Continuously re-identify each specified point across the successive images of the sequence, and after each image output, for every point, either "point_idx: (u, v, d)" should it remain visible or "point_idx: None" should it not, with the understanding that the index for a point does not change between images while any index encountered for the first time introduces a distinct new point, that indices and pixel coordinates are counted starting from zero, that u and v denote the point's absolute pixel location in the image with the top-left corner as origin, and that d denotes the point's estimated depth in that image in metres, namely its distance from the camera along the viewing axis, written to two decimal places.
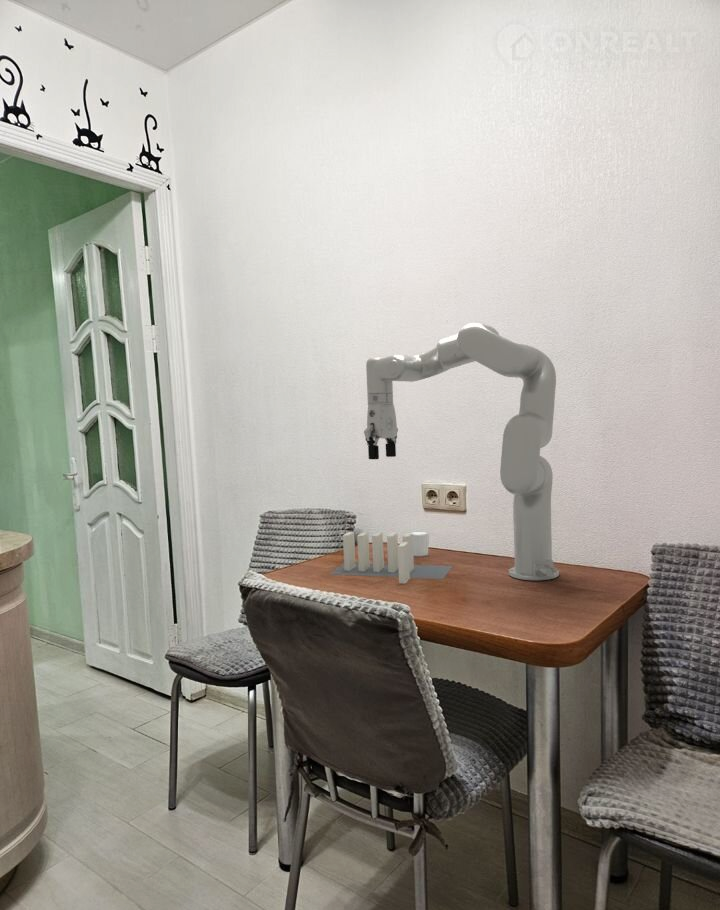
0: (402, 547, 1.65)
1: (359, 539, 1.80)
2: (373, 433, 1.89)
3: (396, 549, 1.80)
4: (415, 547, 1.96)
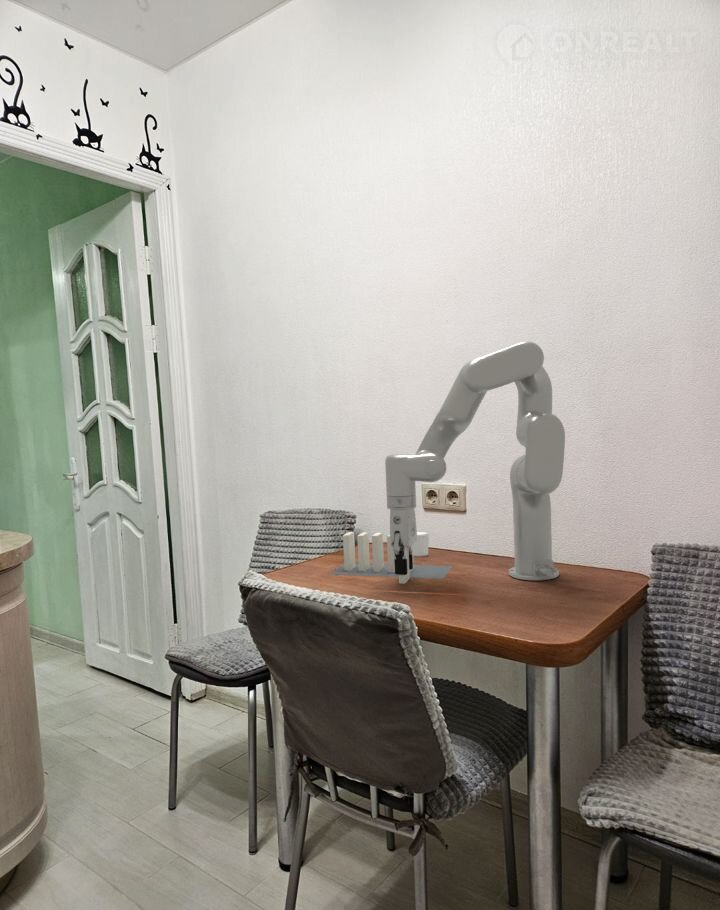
0: None
1: (359, 539, 1.80)
2: None
3: None
4: (415, 547, 1.96)
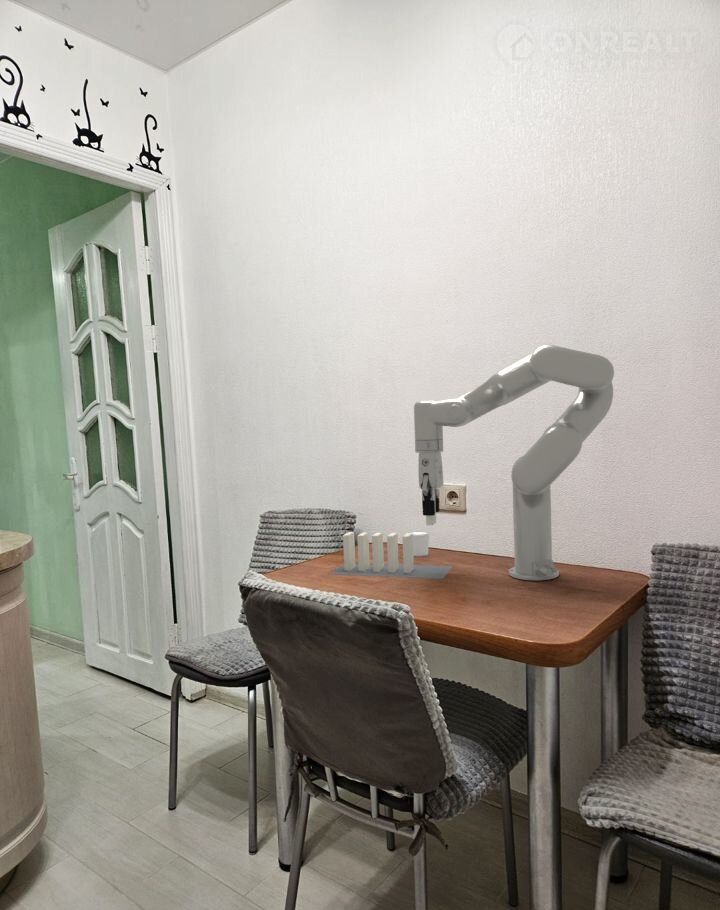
0: None
1: (359, 539, 1.80)
2: None
3: (396, 549, 1.80)
4: (415, 547, 1.96)
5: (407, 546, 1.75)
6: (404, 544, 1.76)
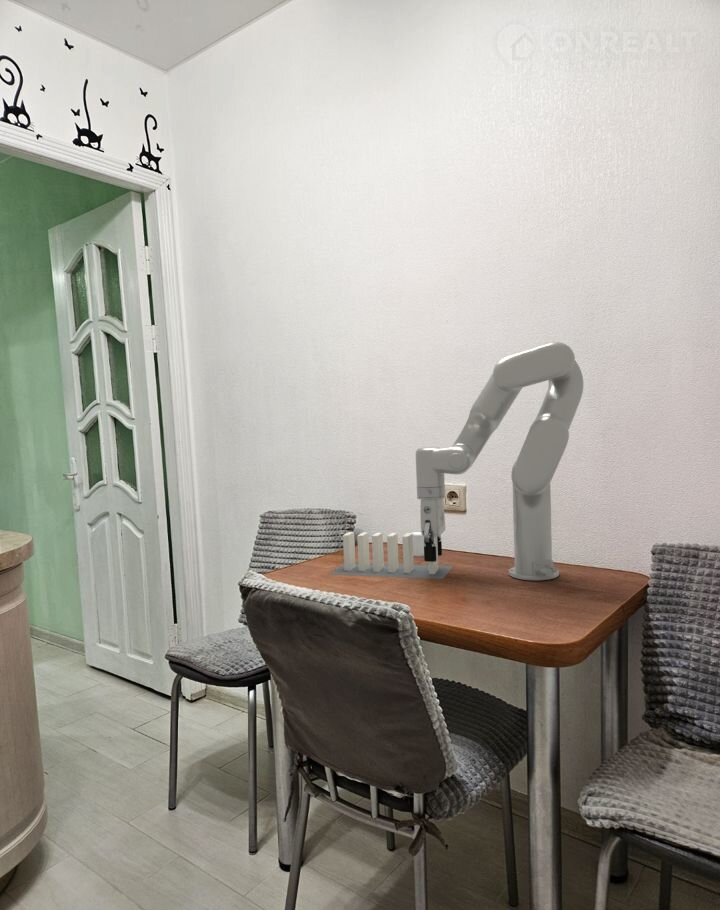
0: None
1: (359, 539, 1.80)
2: None
3: (396, 549, 1.80)
4: (415, 547, 1.96)
5: (407, 546, 1.75)
6: (404, 544, 1.76)
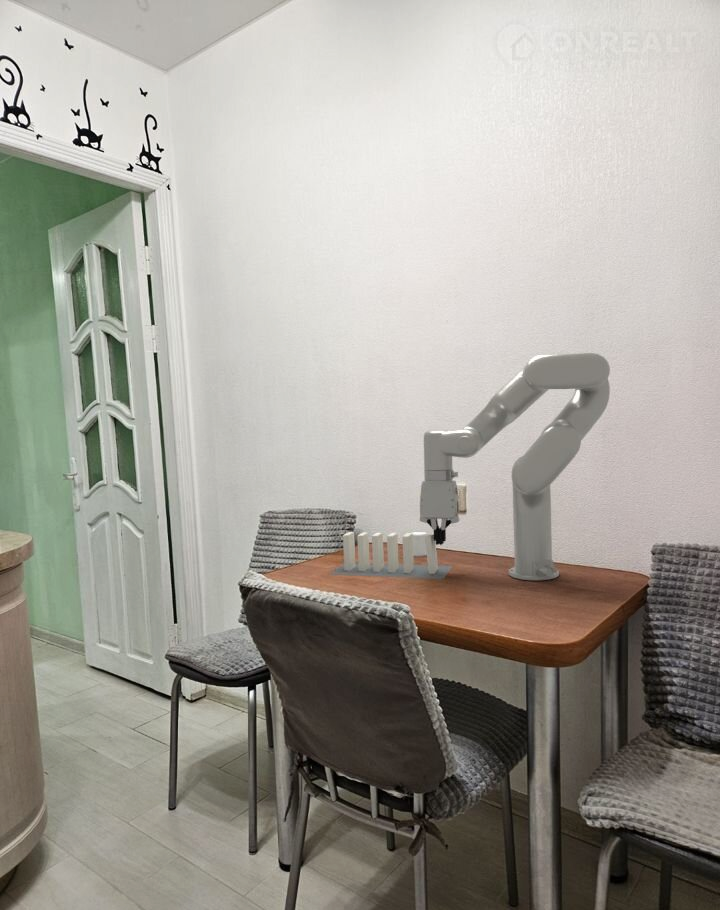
0: (429, 538, 1.73)
1: (359, 539, 1.80)
2: None
3: (396, 549, 1.80)
4: (415, 547, 1.96)
5: (407, 546, 1.75)
6: (404, 544, 1.76)
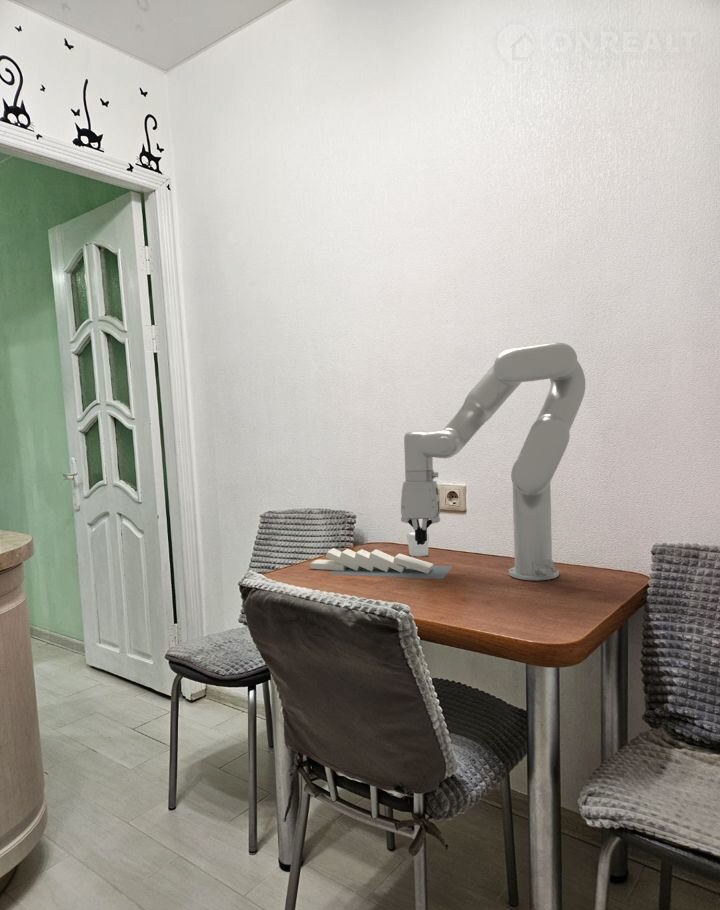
0: (395, 558, 1.77)
1: (329, 556, 1.83)
2: None
3: None
4: (415, 547, 1.96)
5: (379, 557, 1.78)
6: (376, 559, 1.79)
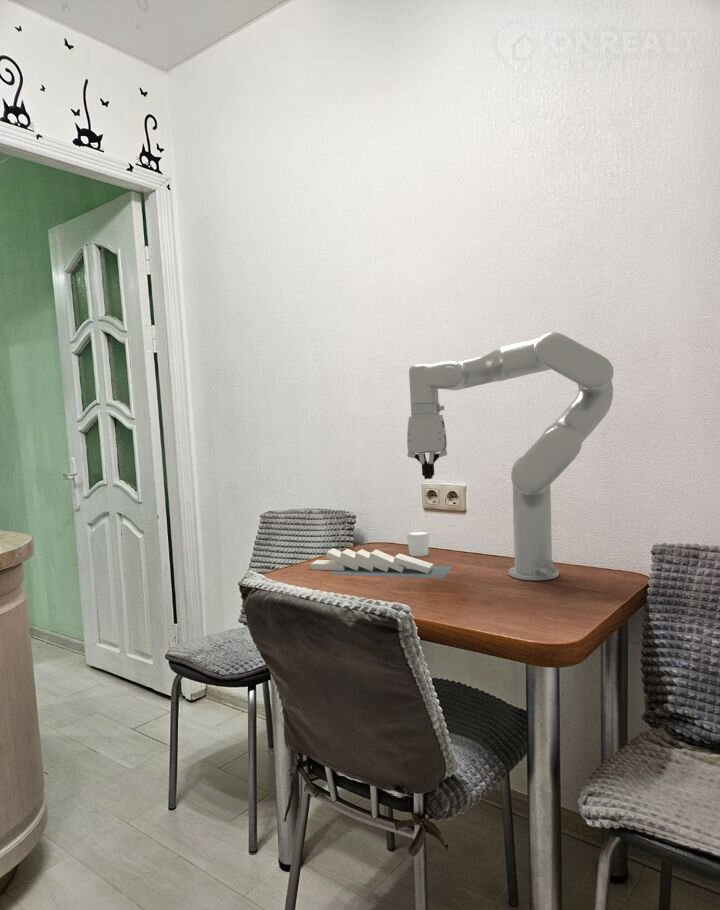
0: (395, 558, 1.77)
1: (329, 556, 1.83)
2: None
3: None
4: (415, 547, 1.96)
5: (379, 557, 1.78)
6: (376, 559, 1.79)
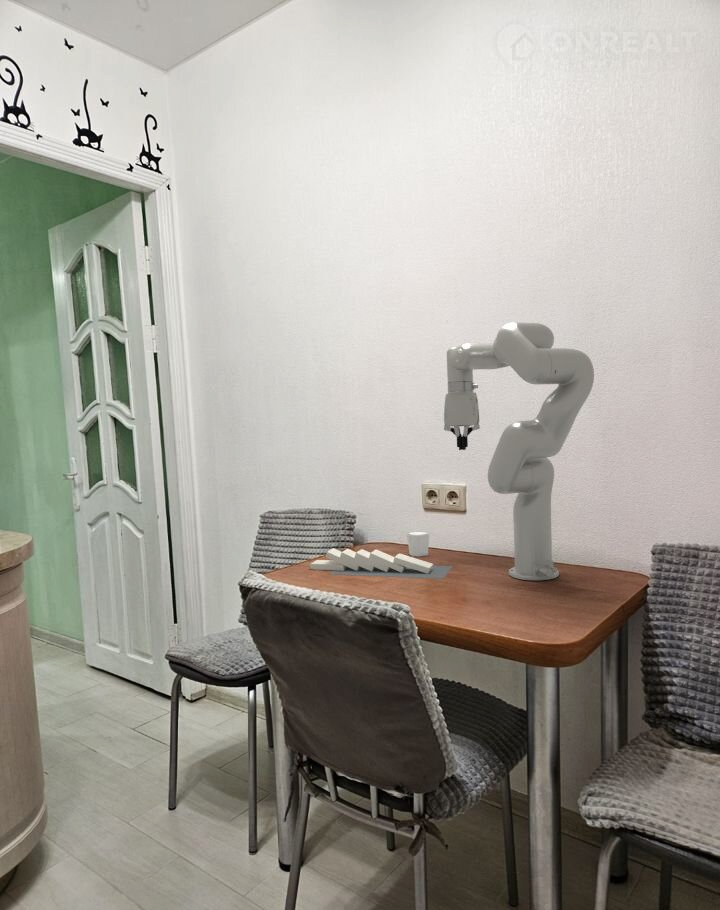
0: (395, 558, 1.77)
1: (329, 556, 1.83)
2: None
3: None
4: (415, 547, 1.96)
5: (379, 557, 1.78)
6: (376, 559, 1.79)
